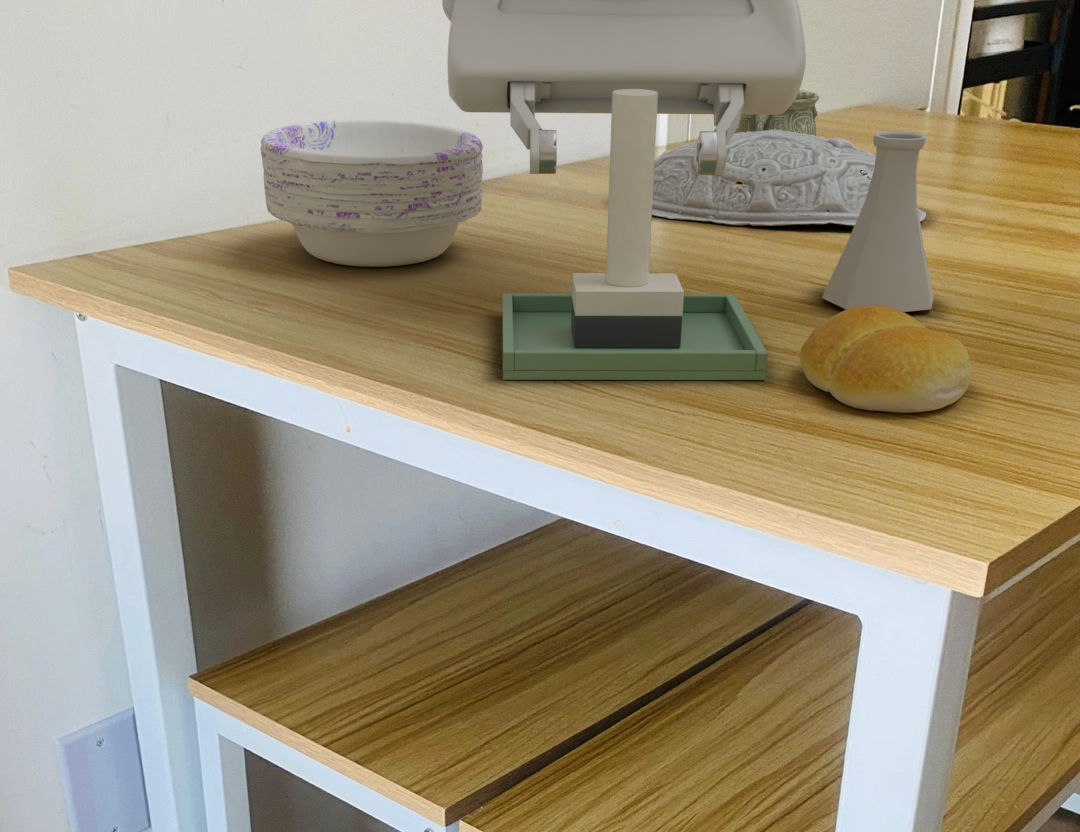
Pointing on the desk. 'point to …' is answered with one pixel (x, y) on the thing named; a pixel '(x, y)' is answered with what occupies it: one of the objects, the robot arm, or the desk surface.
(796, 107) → the vessel
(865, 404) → the bread roll
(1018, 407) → the desk surface
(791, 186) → the grey carved stone ornament
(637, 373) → the tray
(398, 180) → the paper bowls
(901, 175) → the flask
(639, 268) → the brush
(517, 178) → the desk surface
